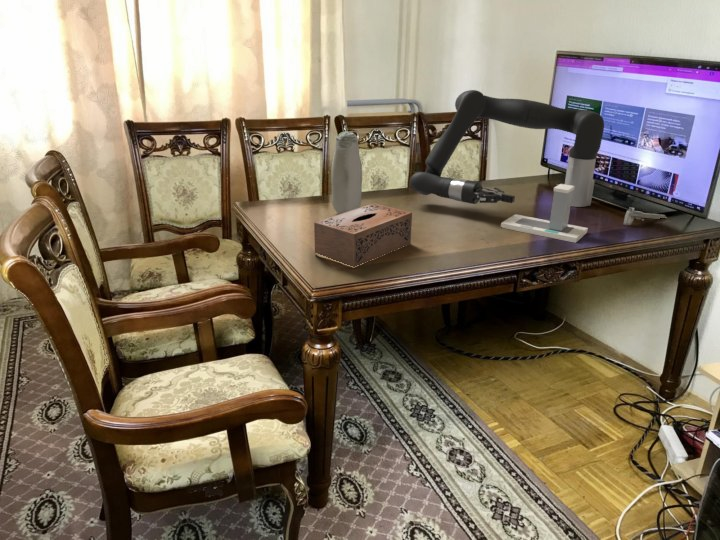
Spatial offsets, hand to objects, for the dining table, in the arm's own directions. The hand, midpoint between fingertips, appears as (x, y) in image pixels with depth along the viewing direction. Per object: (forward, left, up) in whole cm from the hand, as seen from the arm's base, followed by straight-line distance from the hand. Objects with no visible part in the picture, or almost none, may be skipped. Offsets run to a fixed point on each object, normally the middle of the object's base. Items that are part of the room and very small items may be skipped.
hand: (513, 199), depth 190 cm
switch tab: (-12, +10, -6) cm, 17 cm away
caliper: (-47, 0, -9) cm, 47 cm away
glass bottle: (+54, -12, -8) cm, 56 cm away
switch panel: (-8, +7, -8) cm, 14 cm away
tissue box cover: (+51, +22, -9) cm, 56 cm away
